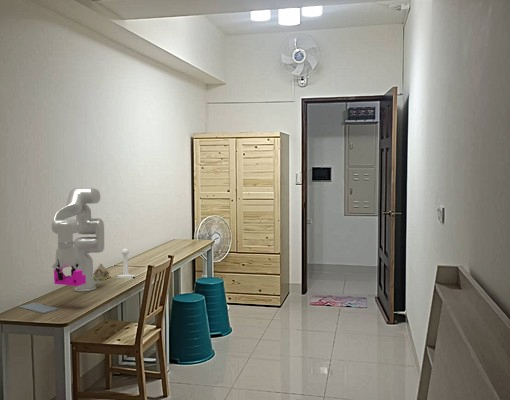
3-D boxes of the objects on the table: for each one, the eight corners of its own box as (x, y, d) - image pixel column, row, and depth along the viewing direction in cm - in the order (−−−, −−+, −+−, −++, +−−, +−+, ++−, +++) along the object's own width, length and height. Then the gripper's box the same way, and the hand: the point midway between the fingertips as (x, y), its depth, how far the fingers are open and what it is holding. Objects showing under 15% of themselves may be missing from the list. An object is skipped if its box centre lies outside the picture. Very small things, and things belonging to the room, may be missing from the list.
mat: (34, 303, 297) (34, 302, 297) (59, 309, 284) (59, 308, 284) (18, 307, 289) (18, 306, 289) (43, 313, 277) (43, 312, 277)
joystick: (116, 279, 356) (115, 248, 354) (120, 277, 363) (119, 247, 362) (133, 279, 355) (132, 248, 353) (136, 277, 362) (136, 247, 361)
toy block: (85, 283, 288) (85, 269, 287) (78, 286, 282) (77, 271, 281) (62, 281, 293) (61, 267, 292) (54, 284, 287) (53, 269, 287)
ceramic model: (95, 276, 366) (94, 262, 365) (112, 276, 366) (111, 261, 365) (89, 281, 352) (89, 266, 351) (107, 281, 352) (106, 265, 351)
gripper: (75, 242, 296) (76, 274, 297) (46, 247, 281) (48, 281, 283) (84, 243, 291) (85, 276, 293) (55, 248, 277) (57, 282, 279)
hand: (67, 278), depth 288 cm, fingers closed on toy block, 7 cm apart
